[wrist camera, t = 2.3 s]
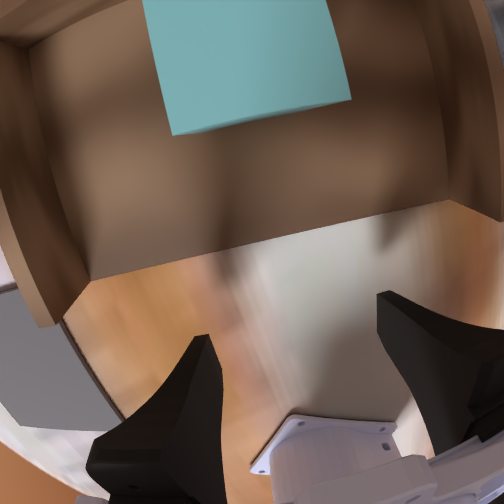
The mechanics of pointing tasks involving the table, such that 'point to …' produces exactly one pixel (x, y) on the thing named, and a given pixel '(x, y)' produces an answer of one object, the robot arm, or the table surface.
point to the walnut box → (229, 141)
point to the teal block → (243, 60)
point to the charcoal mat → (47, 374)
